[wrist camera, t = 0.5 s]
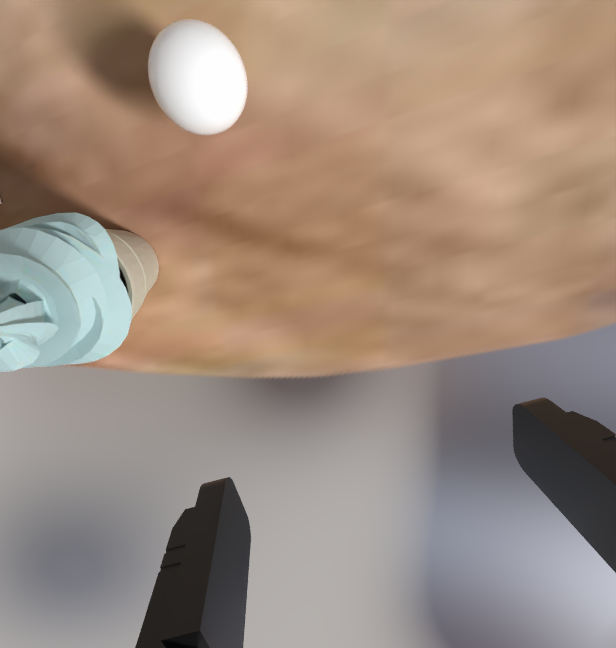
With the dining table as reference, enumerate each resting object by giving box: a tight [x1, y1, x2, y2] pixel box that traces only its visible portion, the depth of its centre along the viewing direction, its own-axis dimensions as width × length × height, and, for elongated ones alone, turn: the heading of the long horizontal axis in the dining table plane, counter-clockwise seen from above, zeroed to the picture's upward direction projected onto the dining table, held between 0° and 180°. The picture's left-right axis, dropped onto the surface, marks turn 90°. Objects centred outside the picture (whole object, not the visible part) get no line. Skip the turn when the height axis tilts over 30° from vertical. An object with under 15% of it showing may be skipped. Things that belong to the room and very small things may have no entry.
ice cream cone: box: [0, 213, 159, 372], centre depth 25 cm, size 10×11×20 cm
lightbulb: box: [148, 19, 248, 135], centre depth 26 cm, size 6×6×11 cm
